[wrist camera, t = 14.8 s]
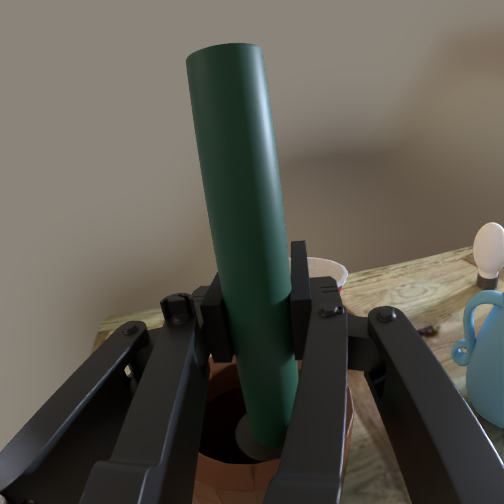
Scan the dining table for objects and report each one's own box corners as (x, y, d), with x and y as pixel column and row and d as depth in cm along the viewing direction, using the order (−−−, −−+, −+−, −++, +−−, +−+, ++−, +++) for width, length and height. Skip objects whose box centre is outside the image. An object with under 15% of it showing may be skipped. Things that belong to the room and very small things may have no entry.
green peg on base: (243, 499, 15) (135, 56, 7) (252, 447, 19) (183, 78, 12) (317, 499, 14) (288, 24, 7) (317, 446, 18) (289, 60, 11)
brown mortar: (198, 550, 15) (123, 472, 10) (221, 457, 24) (183, 347, 20) (338, 555, 13) (364, 485, 9) (334, 455, 23) (341, 341, 18)
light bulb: (502, 280, 43) (510, 220, 40) (503, 297, 39) (513, 231, 35) (470, 275, 48) (475, 216, 44) (467, 291, 43) (474, 226, 39)
